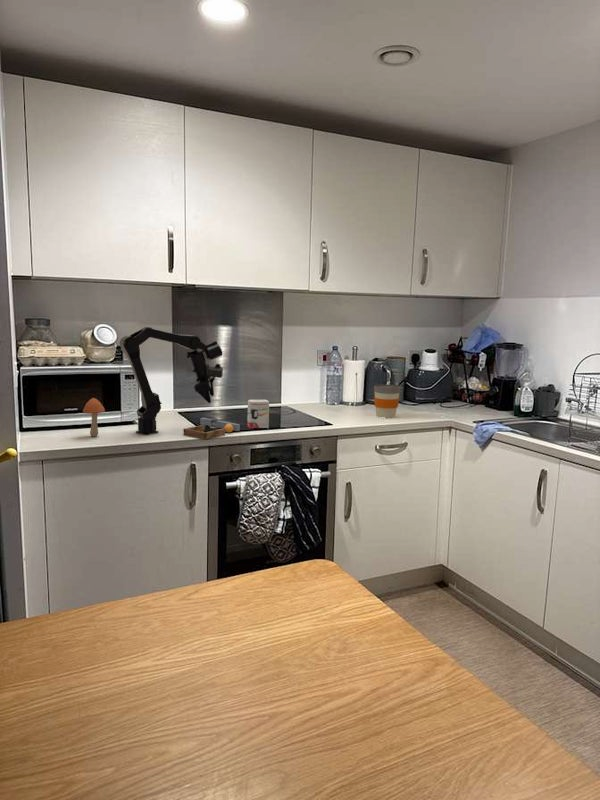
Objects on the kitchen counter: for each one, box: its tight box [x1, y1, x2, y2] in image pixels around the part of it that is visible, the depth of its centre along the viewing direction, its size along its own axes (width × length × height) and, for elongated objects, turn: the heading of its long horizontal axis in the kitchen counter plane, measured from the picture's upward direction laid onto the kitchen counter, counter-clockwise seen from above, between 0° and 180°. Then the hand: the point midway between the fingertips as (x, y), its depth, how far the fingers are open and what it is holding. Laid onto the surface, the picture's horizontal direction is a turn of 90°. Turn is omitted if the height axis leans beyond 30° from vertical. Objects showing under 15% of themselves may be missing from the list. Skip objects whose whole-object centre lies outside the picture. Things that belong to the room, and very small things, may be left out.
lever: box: [200, 417, 241, 432], centre depth 240 cm, size 3×21×3 cm, turn 54°
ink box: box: [246, 399, 270, 430], centre depth 243 cm, size 9×5×12 cm, turn 105°
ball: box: [224, 424, 233, 434], centre depth 232 cm, size 4×4×4 cm
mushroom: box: [82, 397, 106, 437], centre depth 219 cm, size 8×8×15 cm
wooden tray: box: [183, 424, 226, 440], centre depth 227 cm, size 11×12×2 cm
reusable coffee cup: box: [373, 384, 401, 419], centre depth 276 cm, size 13×13×15 cm
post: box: [208, 421, 219, 429], centre depth 242 cm, size 4×4×2 cm
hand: (211, 399), depth 240 cm, fingers open, 9 cm apart
